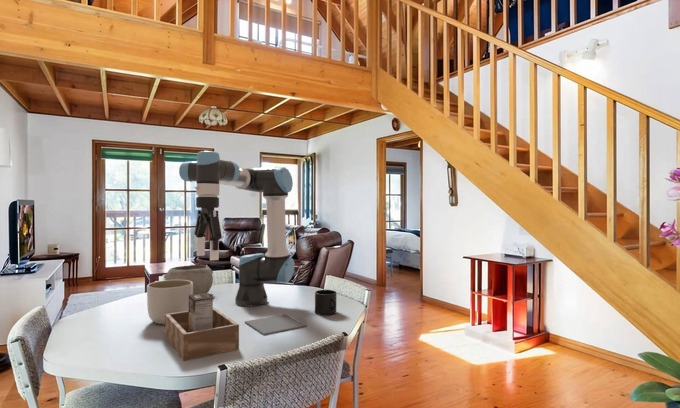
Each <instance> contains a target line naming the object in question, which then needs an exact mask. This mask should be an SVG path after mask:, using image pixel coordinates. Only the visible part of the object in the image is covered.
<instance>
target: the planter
mask: <svg viewBox="0 0 680 408" xmlns="http://www.w3.org/2000/svg"><path fill="white" fill-rule="evenodd" d="M192 293H193V282H192V281H189V280H166V279H165V280H157V281H154V282H150V283H148V284H147V285H146V301H147V303H146V305H147V312H148V313H147V314H148V317H149V318H150V320H151V321H153V322H154V323H155V324H158V325H163V326H165V314H170V313H177V312H184V311H189V295H192Z"/></svg>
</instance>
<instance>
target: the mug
mask: <svg viewBox="0 0 680 408" xmlns="http://www.w3.org/2000/svg"><path fill="white" fill-rule="evenodd" d="M314 313H315V314H316V315H318V314H319V316H333V315H335V314H337V291H336V290H333V289H319V290H316V291H315V292H314Z"/></svg>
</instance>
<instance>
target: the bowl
mask: <svg viewBox="0 0 680 408" xmlns="http://www.w3.org/2000/svg"><path fill="white" fill-rule="evenodd" d="M213 274H214V272H213V270H212V269H211V268H210V267H209V266H208V265H205V264H191V265H180V266H175V267H172V268H169V270H168V271H167V273H165V276H164V279H165V280H189V281H192V282H193V293H192V294H200V293H208V294H209V292H210V290H211V288H212V286H213V281H214V277H213Z"/></svg>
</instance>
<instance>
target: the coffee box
mask: <svg viewBox="0 0 680 408" xmlns="http://www.w3.org/2000/svg"><path fill="white" fill-rule="evenodd" d="M213 300H214V298H213V297H212V296H211V295H210V294H209V292H208V293H200V294H192V295H189V332H194V331H200V330H205V329H211V328H212V321H213V307H214V305H213V302H214V301H213Z"/></svg>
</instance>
